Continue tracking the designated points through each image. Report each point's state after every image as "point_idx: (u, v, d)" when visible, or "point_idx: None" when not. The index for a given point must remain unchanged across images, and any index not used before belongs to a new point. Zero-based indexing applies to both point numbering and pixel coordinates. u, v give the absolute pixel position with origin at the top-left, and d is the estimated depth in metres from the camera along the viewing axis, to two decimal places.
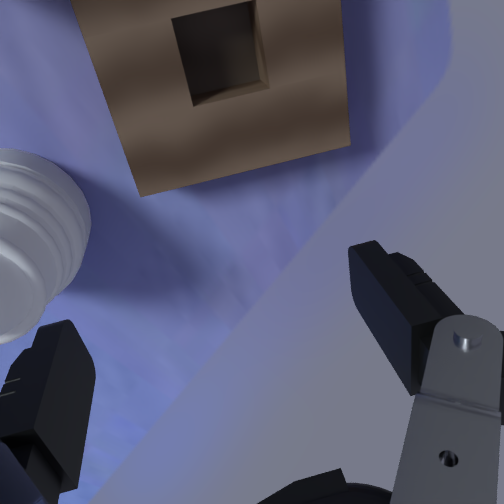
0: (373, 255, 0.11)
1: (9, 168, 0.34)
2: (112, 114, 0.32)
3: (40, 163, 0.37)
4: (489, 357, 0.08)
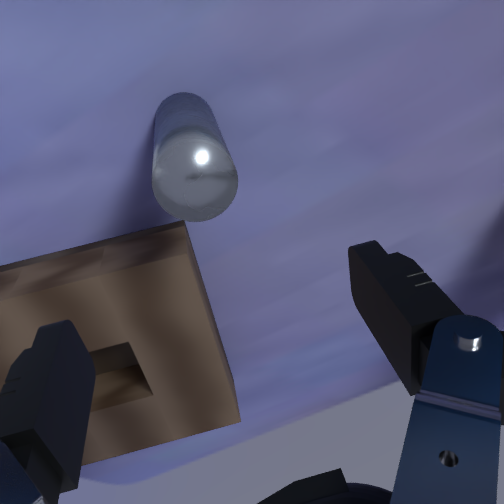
0: (373, 255, 0.11)
1: None
2: (20, 297, 0.29)
3: None
4: (489, 357, 0.08)
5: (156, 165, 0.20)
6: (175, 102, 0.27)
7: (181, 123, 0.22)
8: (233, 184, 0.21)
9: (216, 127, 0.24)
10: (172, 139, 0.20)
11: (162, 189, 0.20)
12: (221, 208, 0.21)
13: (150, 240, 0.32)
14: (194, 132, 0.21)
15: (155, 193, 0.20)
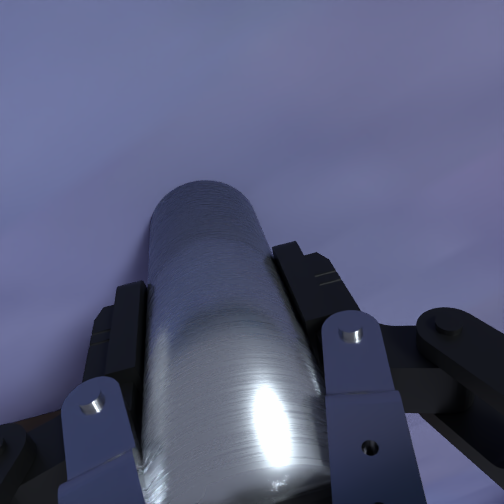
0: (289, 255, 0.12)
1: None
2: None
3: None
4: (363, 348, 0.09)
5: None
6: (190, 216, 0.13)
7: (213, 323, 0.09)
8: None
9: (285, 297, 0.11)
10: (196, 420, 0.07)
11: None
12: None
13: None
14: (256, 386, 0.07)
15: None
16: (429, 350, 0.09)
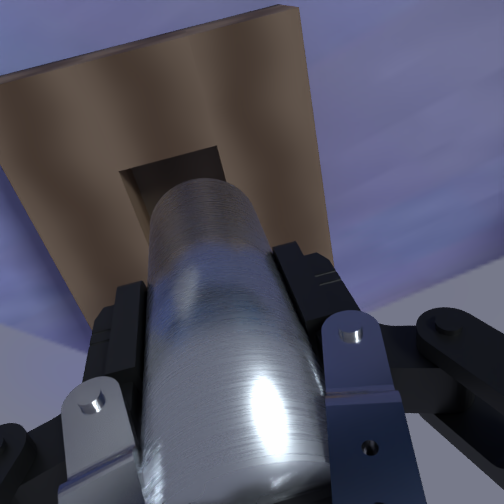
0: (289, 255, 0.12)
1: None
2: (91, 63, 0.23)
3: None
4: (363, 349, 0.09)
5: None
6: (190, 213, 0.13)
7: (213, 320, 0.09)
8: None
9: (285, 294, 0.11)
10: (195, 416, 0.07)
11: None
12: None
13: (243, 16, 0.26)
14: (256, 382, 0.07)
15: None
16: (429, 350, 0.09)
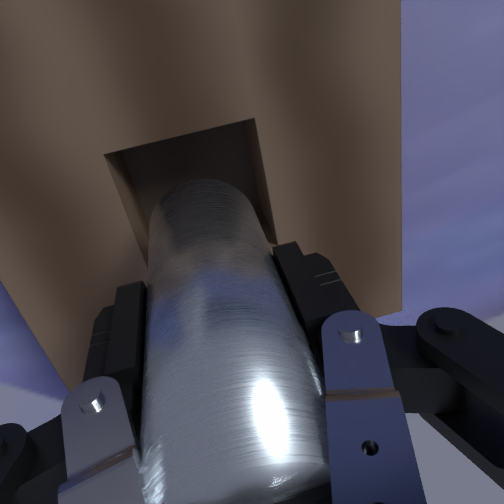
0: (290, 255, 0.12)
1: None
2: None
3: None
4: (363, 348, 0.09)
5: None
6: (189, 214, 0.13)
7: (212, 321, 0.09)
8: None
9: (285, 295, 0.11)
10: (195, 418, 0.07)
11: None
12: None
13: None
14: (256, 383, 0.07)
15: None
16: (429, 350, 0.09)
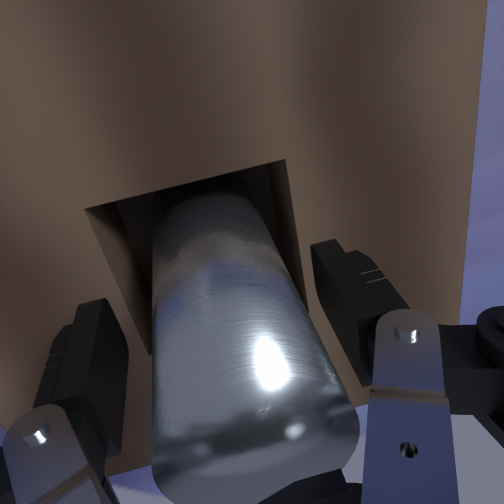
0: (331, 253, 0.12)
1: None
2: None
3: None
4: (423, 348, 0.08)
5: (163, 434, 0.08)
6: (191, 193, 0.14)
7: (215, 276, 0.10)
8: (346, 445, 0.09)
9: (279, 260, 0.12)
10: (202, 348, 0.08)
11: (179, 475, 0.08)
12: None
13: None
14: (254, 321, 0.09)
15: (160, 483, 0.08)
16: (487, 346, 0.08)
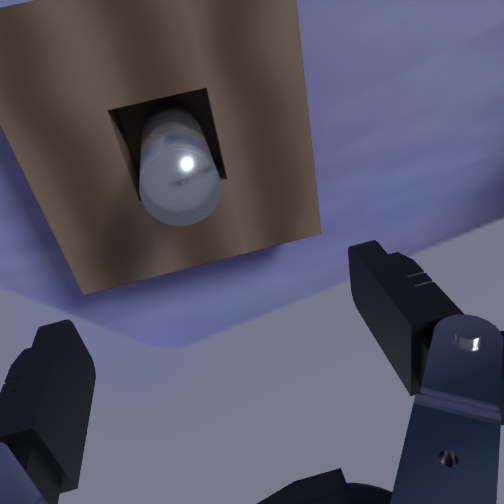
0: (373, 255, 0.11)
1: None
2: None
3: None
4: (489, 357, 0.08)
5: (143, 172, 0.21)
6: (161, 109, 0.28)
7: (167, 132, 0.23)
8: (216, 191, 0.22)
9: (201, 135, 0.25)
10: (159, 148, 0.22)
11: (149, 195, 0.22)
12: (205, 213, 0.23)
13: None
14: (180, 141, 0.22)
15: (142, 199, 0.22)
16: None
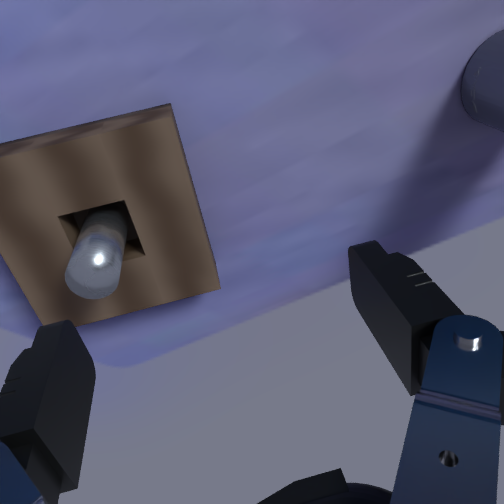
0: (373, 255, 0.11)
1: None
2: (36, 150, 0.35)
3: None
4: (489, 357, 0.08)
5: (67, 269, 0.34)
6: (96, 210, 0.40)
7: (89, 236, 0.36)
8: (116, 278, 0.35)
9: (116, 234, 0.38)
10: (78, 251, 0.34)
11: (72, 281, 0.34)
12: (110, 291, 0.35)
13: (142, 114, 0.38)
14: (93, 246, 0.35)
15: (67, 283, 0.34)
16: None
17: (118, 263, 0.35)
